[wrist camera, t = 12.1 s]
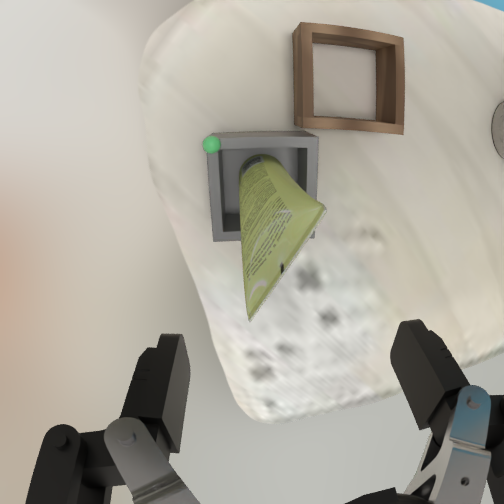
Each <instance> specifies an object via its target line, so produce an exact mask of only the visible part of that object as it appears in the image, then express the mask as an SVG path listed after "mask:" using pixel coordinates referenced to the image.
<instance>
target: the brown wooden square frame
mask: <svg viewBox="0 0 504 504" xmlns="http://www.w3.org/2000/svg"><path fill="white" fill-rule="evenodd" d="M292 36H293V69H294V125H297V126H299V127H302V128H322V129H343V130H358V131H370V132H381V133H391V134H400V135H403V131H404V106H405V65H404V41H403V38H402V37H398V36H394V35H389V34H385V33H380V32H375V31H369V30H363V29H357V28H351V27H344V26H336V25H327V24H317V23H305V22H300V24H299V25H298V26H297V28H296V29H295V30H294V32H293V33H292ZM312 43H322V44H332V45H341V46H349V47H356V48H363V49H369V50H375V51H376V120H366V119H355V118H341V117H324V116H314V102H313V49H312Z"/></svg>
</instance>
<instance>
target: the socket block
mask: <svg viewBox="0 0 504 504" xmlns="http://www.w3.org/2000/svg"><path fill="white" fill-rule="evenodd" d="M203 149H204V150H205V151H206V152H207V164H208V179H209V193H210V206H211V219H212V231H213V242H218V241H241V226H240V204H239V172H240V169H241V166H242V165H243V163H244V162H245V161H246V160H247V159H248V158H250V157H252V156H254V155H258V154H267V155H270V156H273V157H275V158H276V159H277V160H278V161H279V162H280V163H281V164H282V165H283V167H284V168H285V170H286V171H287V172H288V174H289V175H290V176H291V178H292V179H293V180H294V181H295V182H296V183H297V184H298V185H299V186H300V187H301V188H302V189H303V190H304V191H305V192H306V193H307V194H308V195H309V196H310V197H312V198H313V199H315V200H316V201H317V176H318V137H317V136H315V135H313V134H310V133H308V132H306V131H253V132H227V133H212V134H211V135H210V136H209V137H207V138H205V140H204V141H203ZM314 237H315V231H314V232H313V234H312V235H311V236H310V238H314Z"/></svg>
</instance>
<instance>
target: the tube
mask: <svg viewBox="0 0 504 504" xmlns="http://www.w3.org/2000/svg"><path fill="white" fill-rule="evenodd" d="M239 204H240V226H241V244H242V261H243V277H244V289H245V300H246V308H247V315H248V319H249V322H251V321H252V319H253V318H254V316H255V315H256V313H257V312H258V311H259V309H260V308H261V306H262V305H263V303H264V302H265V301H266V299H267V298H268V297H269V295H270V294H271V292H272V291H273V290H274V288H275V287H276V285H277V284H278V282H279V281H280V279H281V278H282V276H283V275H284V273H285V272H286V271H287V269H288V268H289V266H290V265H291V264H292V262H293V261H294V259H295V258H296V257H297V255H298V254H299V252H300V251H301V249H302V248H303V246H304V245H305V243H306V242H307V241H308V239H309V238H310V236H311V235H312V234H313V232H314V231H315V229H316V228H317V226H318V225H319V223H320V222H321V220H322V219H323V217H324V215H325V214H326V212H327V210H326V208H325V206H324V205H323V204H322V203H320V202H318V201H316V200H315V199H313V198H312V197H310V196H309V195H308V194H307V193H306V192H305V191H304V190H303V189H302V188H301V187H300V186H299V185H298V184H297V183H296V182H295V181H294V180H293V179H292V178H291V176H290V175H289V174H288V172H287V171H286V170H285V168H284V167H283V165H282V164H281V163H280V162H279V161H278V160H277V159H276V158H275V157H273V156H270V155H267V154H258V155H254V156H252V157H250V158H248V159H247V160H246V161H245V162H244V163H243V165H242V166H241V169H240V172H239Z"/></svg>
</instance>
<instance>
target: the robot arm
mask: <svg viewBox="0 0 504 504" xmlns="http://www.w3.org/2000/svg"><path fill="white" fill-rule="evenodd" d="M492 134H493V140H494V144H495V147H496V149H497V151H498V153H499V154H500V156H501V157H502V158H504V102H502V103H501V104H500V105H499V106H498V107H497V109H496V111H495V114H494V117H493V123H492ZM390 359H391V364H392V367H393V369H394V371H395V373H396V376H397V378H398V380H399V382H400V385H401V387H402V389H403V392H404V394H405V396H406V399H407V401H408V403H409V406H410V408H411V410H412V413H413V415H414V417H415V420H416V423H417V425H418V428H419V430H422V429H425V428H429V427H430V428H431V431H432V432H431V434H430V436H429V438H428V441H427V444H426V447H425V450H424V453H423V455H422V458H421V461H420V463H419V466H418V469H417V471H416V474H415V476H414V478H413V479H412V481H411V482H410V483H409V485H408V486H407V488H406V490H405V492H404V494H399V493H396V489H395V487H393V488H390V489H386V490H382V491H378V492H375V493H370V494H366V495H363V496H361V497H359V498H356V499H354V500H352V501H350V502H348V503H345V504H480V503H481V499H482V495H483V492H484V488H485V484H486V480H487V482H488V485H489V488H490V492H491V495H492V498H493V502H494V504H504V395H488V393H487V392H486V391H485V390H484V389H483V388H481V387H479V386H476V385H470V384H469V382H468V380H467V379H466V377H465V375H464V374H463V372H462V370H461V369H460V367H459V365H458V364H457V362H456V361H455V359H454V357H452V354H451V353H450V351H449V349H448V350H447V346H446V345H445V343H444V342H443V340H442V339H441V338H440V337H439V336H438V335H437V334H435V333H434V332H433V331H432V330H430V331H428V329H427V328H426V326H425V325H424V323H423V322H422V321H421V320H420V319H416V320H409V321H402V322H401V323H400V325H399V328H398V331H397V334H396V337H395V340H394V343H393V346H392V349H391V353H390ZM189 382H190V363H189V358H188V355H187V350H186V346H185V342H184V337H183V335H182V334H161V335H160V338H159V341H158V345H157V348H150V347H149V348H147V349H146V350H145V351H144V352H143V353H142V355H141V356H140V357H139V359H138V362H137V365H136V368H135V371H134V374H133V377H132V381H131V383H130V386H129V390H128V393H127V396H126V399H125V402H124V406H123V409H122V412H121V415H120V417H119V419H116V420H115V421H113V422H112V423H111V424H109V425H108V427H107V428H106V429H105V430H101V431H94V432H85V433H78V432H77V431H76V429H75V428H73V427H72V426H69V425H66V424H60V425H57V426H54V427H52V428H51V429H50V430H49V431H48V432H47V433H46V435H45V437H44V439H43V442H42V445H41V449H40V452H39V455H38V458H37V461H36V465H35V469H34V472H33V475H32V479H31V483H30V487H29V491H28V495H27V499H26V504H110V500H111V494H112V487H113V486H118V485H127V487H128V488H129V490H130V492H131V494H132V496H133V502H134V504H200V503H199V501H198V500H197V499H196V498H195V496H194V495H193V494H192V492H191V491H190V490H189V489H188V487H187V486H186V485H185V484H184V482H183V481H182V480H181V478H180V477H179V476H178V475H177V473H176V472H175V471H174V469H173V468H172V466H171V465H170V463H169V456H170V453H179V452H180V444H181V437H182V429H183V421H184V415H185V408H186V402H187V395H188V388H189Z"/></svg>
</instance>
